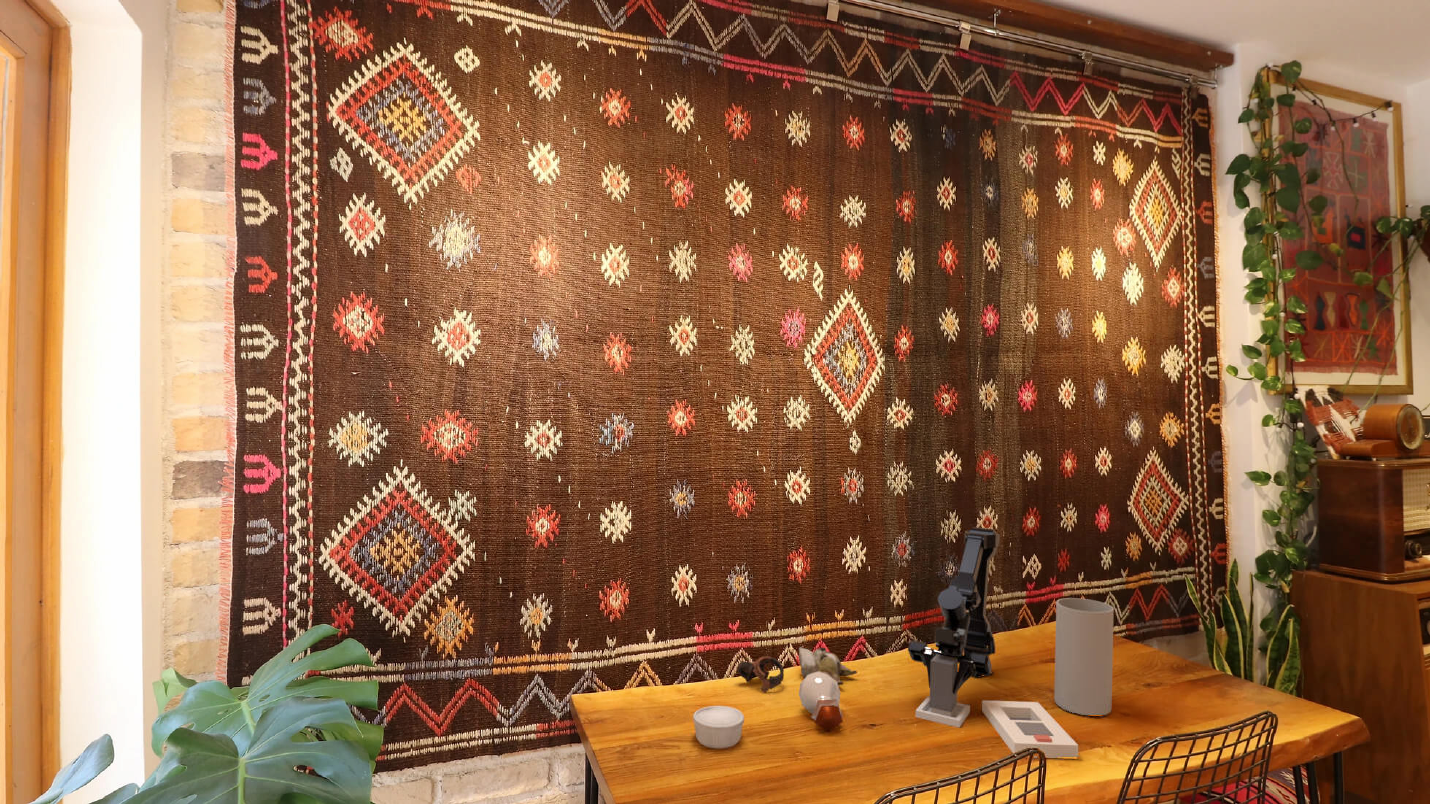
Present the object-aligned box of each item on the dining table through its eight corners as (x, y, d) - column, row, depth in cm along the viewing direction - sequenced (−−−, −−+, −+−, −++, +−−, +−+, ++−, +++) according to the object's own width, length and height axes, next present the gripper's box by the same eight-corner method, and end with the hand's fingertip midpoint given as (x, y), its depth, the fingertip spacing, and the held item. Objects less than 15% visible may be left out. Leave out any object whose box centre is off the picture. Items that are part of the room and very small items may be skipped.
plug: (935, 707, 181) (936, 654, 180) (956, 712, 178) (957, 658, 178) (929, 715, 177) (930, 660, 176) (951, 720, 174) (952, 665, 174)
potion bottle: (819, 708, 184) (833, 745, 169) (787, 687, 183) (798, 721, 168) (843, 679, 183) (859, 712, 168) (811, 656, 182) (824, 688, 167)
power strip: (982, 712, 180) (982, 697, 180) (1037, 714, 179) (1037, 699, 179) (1014, 757, 158) (1015, 740, 158) (1078, 759, 157) (1078, 742, 157)
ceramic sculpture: (808, 635, 208) (859, 650, 200) (806, 666, 208) (857, 681, 200) (790, 646, 199) (843, 662, 191) (788, 679, 199) (841, 695, 191)
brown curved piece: (777, 678, 201) (786, 657, 197) (777, 707, 192) (786, 685, 188) (733, 667, 200) (742, 645, 196) (731, 695, 192) (740, 673, 188)
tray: (927, 704, 184) (927, 696, 184) (969, 713, 179) (970, 705, 179) (915, 718, 176) (915, 710, 176) (959, 729, 170) (959, 720, 170)
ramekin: (714, 723, 172) (715, 700, 172) (754, 738, 165) (754, 714, 165) (682, 740, 163) (682, 716, 163) (722, 757, 156) (722, 731, 156)
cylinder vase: (1118, 720, 177) (1120, 614, 176) (1061, 715, 179) (1063, 610, 179) (1102, 699, 189) (1104, 600, 189) (1049, 694, 191) (1051, 596, 191)
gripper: (910, 607, 185) (895, 665, 176) (989, 620, 175) (978, 682, 166) (919, 630, 192) (905, 688, 183) (996, 644, 182) (985, 705, 173)
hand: (941, 690), depth 176 cm, fingers closed on plug, 5 cm apart
